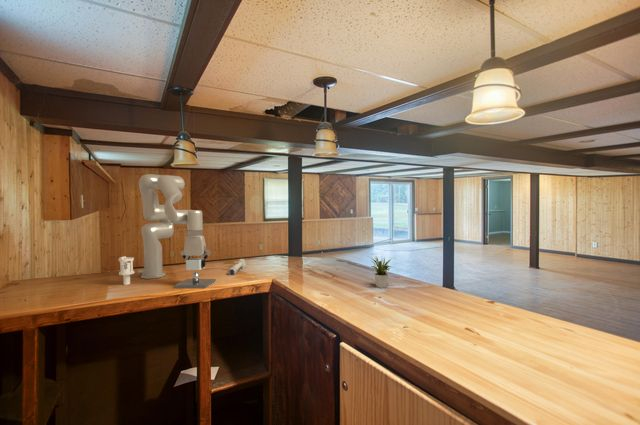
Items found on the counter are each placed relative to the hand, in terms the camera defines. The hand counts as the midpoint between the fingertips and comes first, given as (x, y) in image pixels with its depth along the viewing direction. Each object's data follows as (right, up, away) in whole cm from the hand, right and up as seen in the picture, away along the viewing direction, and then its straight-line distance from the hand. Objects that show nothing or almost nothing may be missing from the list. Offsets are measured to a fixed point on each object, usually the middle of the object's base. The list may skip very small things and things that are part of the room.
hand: (195, 267), depth 166 cm
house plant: (+95, -9, -6) cm, 95 cm away
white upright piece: (-38, -10, +3) cm, 39 cm away
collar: (0, -1, 0) cm, 1 cm away
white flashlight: (+13, -9, +36) cm, 39 cm away
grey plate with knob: (0, -9, 0) cm, 9 cm away
